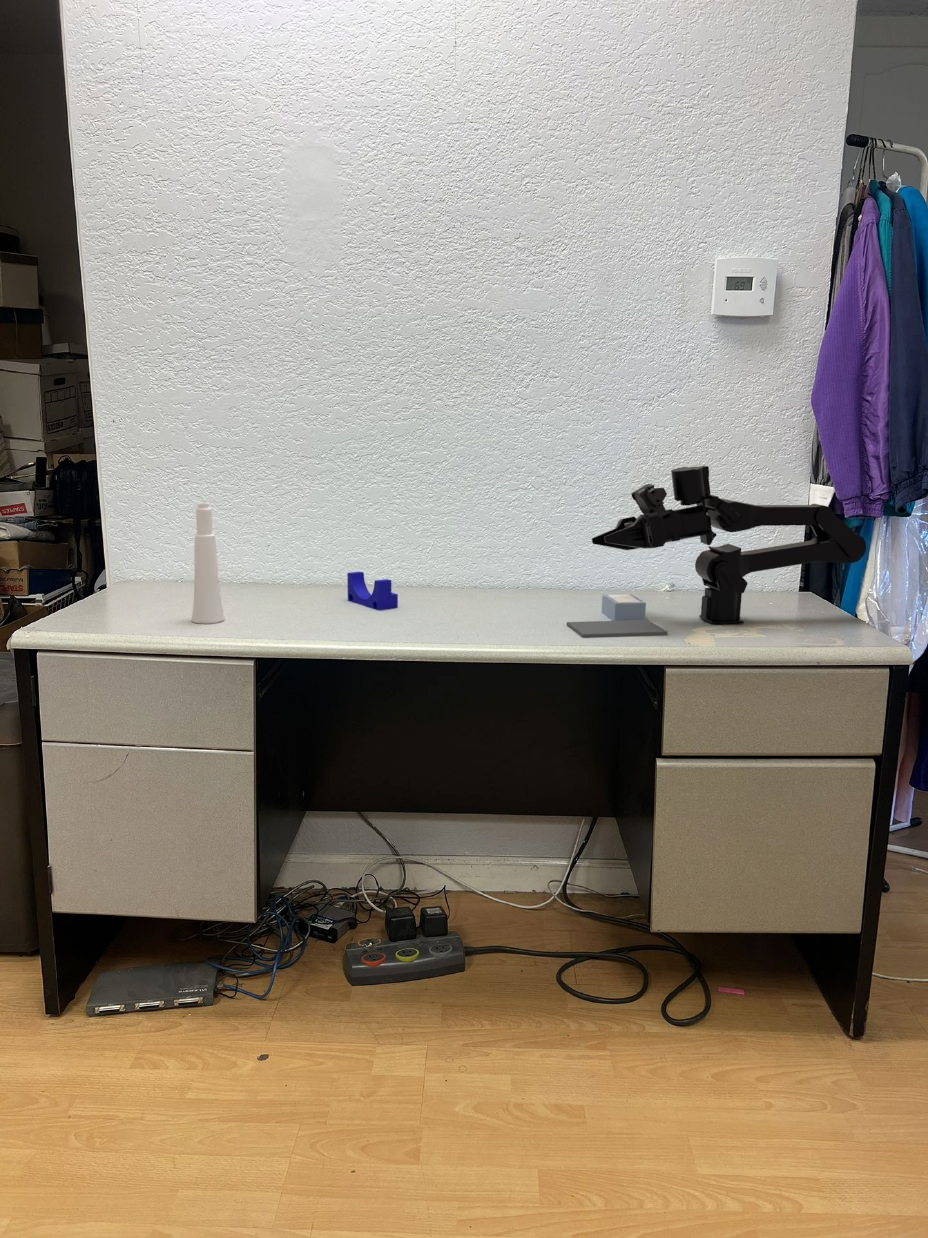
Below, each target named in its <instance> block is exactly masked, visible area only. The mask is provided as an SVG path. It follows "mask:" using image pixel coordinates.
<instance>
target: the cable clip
mask: <svg viewBox="0 0 928 1238" xmlns="http://www.w3.org/2000/svg"><path fill="white" fill-rule="evenodd" d="M346 574H347V575H346V576H347V601H348V602H351V603H353V604H354V603H355V604H357V605H361V606H363V607H367V608H370V609H372V610H373V609H374V610H377V611H385V610H392V609H398V608H399V607H398V606H399V600H398V598H399V595H398V593H394V592H392V580H391V579H388V578H386V579H377V580H374V583H373V584H374V585H373V590H372V592H371V593H370V591H369V590H368V587H367V584H366V582H365V580H366V579H365V575H364V574H365V573H364V572H363V571H351V572H347V573H346Z"/></svg>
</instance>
